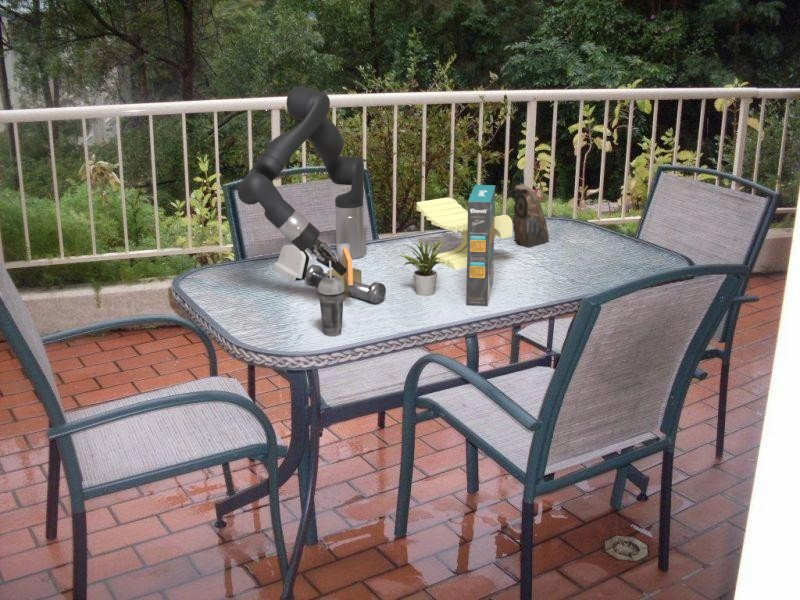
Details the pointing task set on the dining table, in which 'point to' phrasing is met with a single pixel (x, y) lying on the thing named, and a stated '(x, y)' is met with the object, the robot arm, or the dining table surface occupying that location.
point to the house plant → (424, 268)
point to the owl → (528, 218)
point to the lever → (346, 260)
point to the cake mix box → (480, 245)
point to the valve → (358, 290)
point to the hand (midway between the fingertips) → (344, 272)
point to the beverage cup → (331, 303)
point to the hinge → (293, 262)
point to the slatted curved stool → (457, 227)
